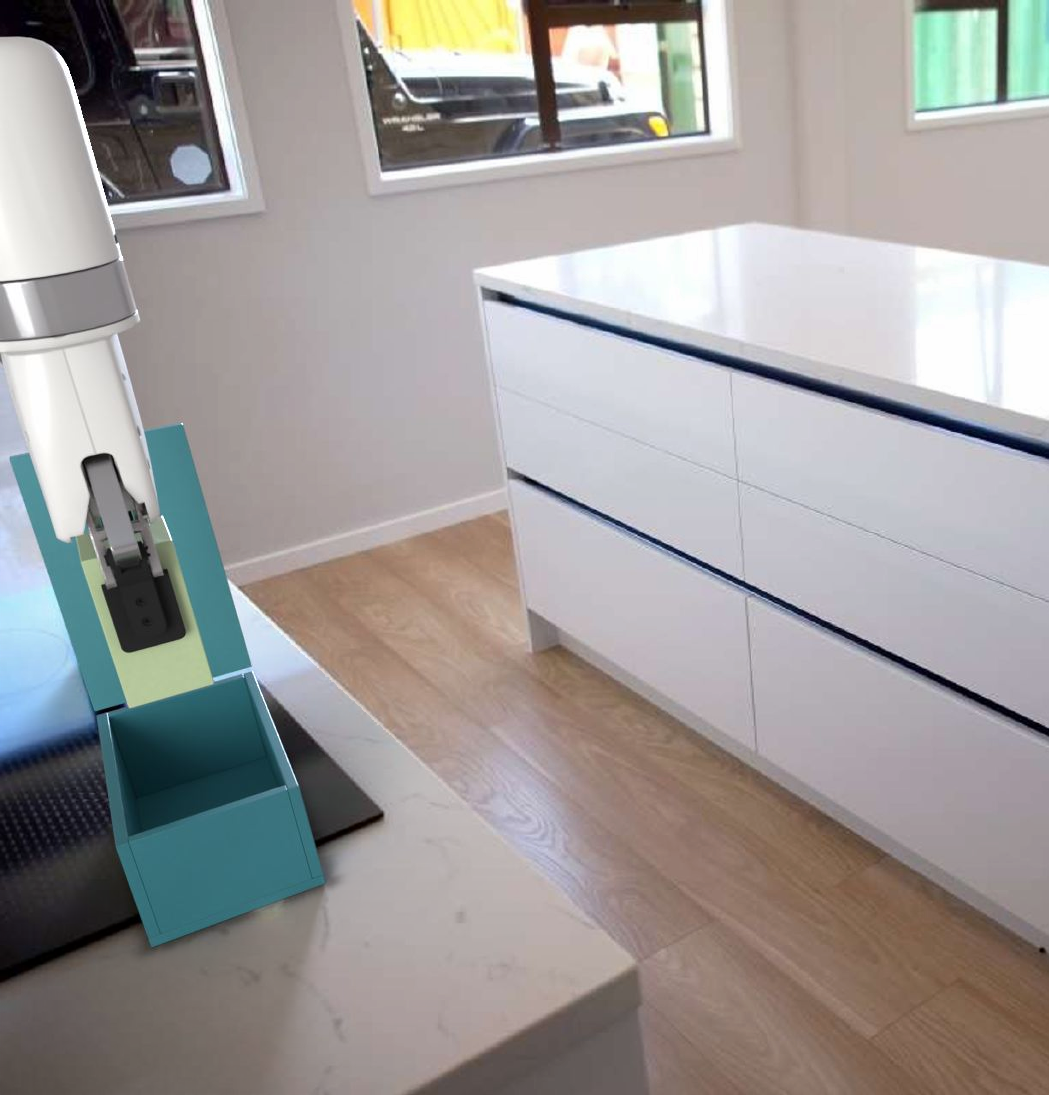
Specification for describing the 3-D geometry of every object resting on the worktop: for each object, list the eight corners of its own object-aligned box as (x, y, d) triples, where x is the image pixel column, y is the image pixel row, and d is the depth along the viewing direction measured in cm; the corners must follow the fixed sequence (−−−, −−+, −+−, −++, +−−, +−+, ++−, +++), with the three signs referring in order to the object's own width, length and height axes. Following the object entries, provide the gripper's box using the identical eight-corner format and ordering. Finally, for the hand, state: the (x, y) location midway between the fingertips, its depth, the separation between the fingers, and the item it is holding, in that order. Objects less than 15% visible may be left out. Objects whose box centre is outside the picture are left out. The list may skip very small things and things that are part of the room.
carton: (214, 684, 71) (172, 540, 67) (129, 709, 69) (80, 561, 65) (203, 653, 74) (162, 515, 70) (121, 676, 72) (75, 534, 68)
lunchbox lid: (183, 424, 85) (176, 413, 89) (9, 458, 81) (10, 445, 85) (252, 666, 92) (243, 646, 96) (94, 711, 87) (92, 688, 91)
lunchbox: (325, 883, 81) (299, 786, 78) (151, 948, 77) (115, 847, 74) (277, 757, 96) (252, 670, 92) (127, 805, 91) (96, 715, 88)
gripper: (-37, 289, 67) (65, 591, 75) (-40, 352, 54) (85, 712, 62) (117, 267, 71) (200, 558, 78) (150, 322, 57) (246, 665, 65)
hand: (149, 622), depth 70 cm, fingers closed on carton, 4 cm apart
